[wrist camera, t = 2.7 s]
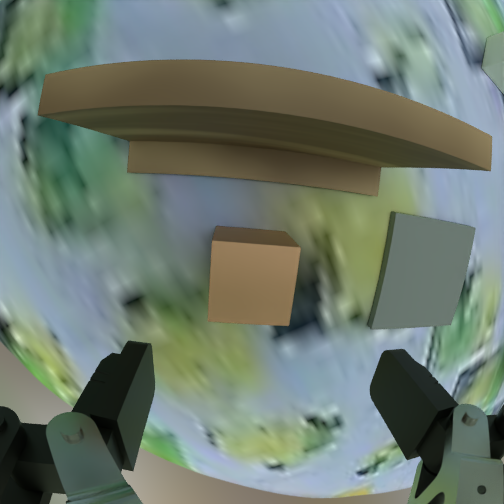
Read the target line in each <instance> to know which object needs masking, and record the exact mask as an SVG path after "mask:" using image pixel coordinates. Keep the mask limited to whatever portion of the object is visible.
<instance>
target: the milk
mask: <svg viewBox="0 0 504 504" xmlns="http://www.w3.org/2000/svg"><path fill="white" fill-rule="evenodd" d="M482 69H483V70H484V72H485V73H486V74H487V75H488V76H489V77H490V78H491V80H492V81H493V82H494V83H495V84H496V86H497V87H498V88H499V89H500V91H501V92H502V93H503V94H504V32H501V33H498V34H495V35H493V36H490V37H488V38H487V41H486V47H485V53H484V58H483V63H482Z"/></svg>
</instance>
